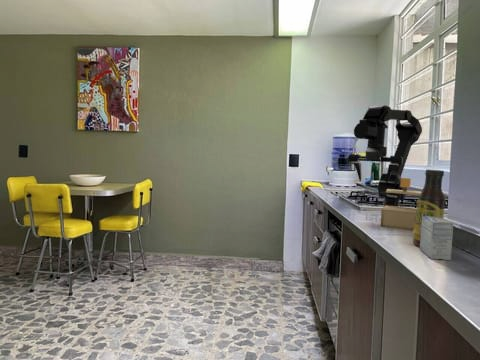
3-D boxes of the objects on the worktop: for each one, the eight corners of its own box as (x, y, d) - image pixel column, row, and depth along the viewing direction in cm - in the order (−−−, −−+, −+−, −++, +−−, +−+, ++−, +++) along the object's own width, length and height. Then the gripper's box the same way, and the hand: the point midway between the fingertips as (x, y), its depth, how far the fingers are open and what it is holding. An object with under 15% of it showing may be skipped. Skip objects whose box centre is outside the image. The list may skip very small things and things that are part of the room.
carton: (384, 218, 126) (385, 203, 126) (421, 223, 121) (422, 207, 120) (380, 226, 113) (381, 209, 113) (421, 231, 108) (423, 213, 107)
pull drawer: (387, 190, 128) (388, 176, 128) (423, 193, 123) (424, 179, 122) (385, 192, 122) (386, 177, 121) (423, 195, 116) (424, 180, 116)
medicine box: (451, 261, 77) (454, 223, 77) (429, 259, 78) (432, 221, 78) (438, 251, 85) (441, 216, 84) (418, 249, 86) (421, 215, 85)
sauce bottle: (407, 243, 91) (413, 168, 90) (423, 242, 94) (429, 169, 92) (429, 250, 85) (436, 170, 84) (446, 248, 88) (453, 170, 86)
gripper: (346, 138, 125) (343, 181, 126) (402, 139, 117) (399, 185, 118) (351, 140, 135) (348, 180, 136) (404, 141, 127) (400, 183, 128)
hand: (373, 182), depth 129 cm, fingers open, 9 cm apart
